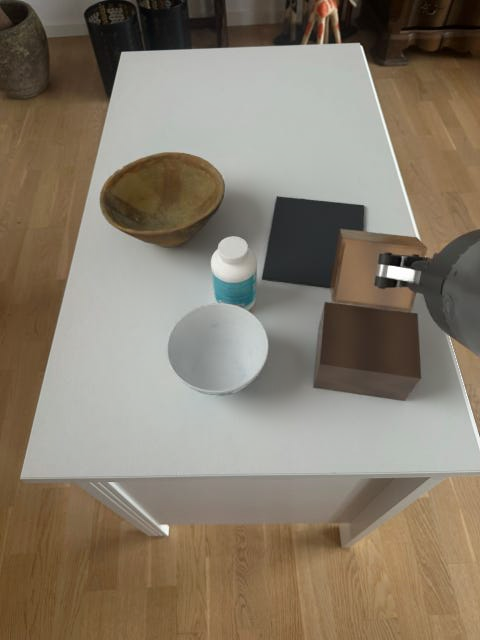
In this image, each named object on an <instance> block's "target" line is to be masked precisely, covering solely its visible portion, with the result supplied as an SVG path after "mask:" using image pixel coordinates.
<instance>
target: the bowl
mask: <svg viewBox="0 0 480 640" xmlns="http://www.w3.org/2000/svg"><path fill="white" fill-rule="evenodd" d="M225 192H226V184H225V180H224V178H223V174H221V172H220V171H219V170H218V169H217V168H216V167H215V165H213V164H211V163H210V162H209V161H208V160H206V159H204V158H202V157H200V156H198V155H194V154H190V153H186V152H178V151H175V152H174V151H172V152H171V151H165V152H163V151H162V152H159V153H154V154H151V155H147V156H145V157H140V158H137V159H136V160H134V161H132V162H130V163H128V164H125V165H123V166H122V168H119V169H117V170H115V172H113V173H112V175H110V176H109V177H108V178H107V179H106V180H105V181H104V183H103V185H102V187H101V190H100V194H99V209H100V211H101V214H102V216H103V217H104V219H105V220H106V221H107V223H108V224H110V225H111V226H112V227H113V228H115V229H117V230H118V231H120V232H122V233H124V234H126V235H127V236H130V237H132V238H135V239H137V240H139V241H141V242H143V243H148V244H151V245H154V246H158V247H162V248H174V247H178V246H179V247H180V246H181V245H183V244H184V243H186V242H187V241H188V240H189V239H190V238H191V239H192V238H193V236H195V235H196V234H197V233H199V232H200V231H201V230H202V229H203V228H204V227H205V226H206V225H207V223H208V222H209V221H211V219H212V218H213V217H214V216H215V215H216V213H217V212H218V211H219V208H220V206H221V204H222V202H223V200H224V197H225Z"/></svg>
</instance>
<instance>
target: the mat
mask: <svg viewBox="0 0 480 640" xmlns="http://www.w3.org/2000/svg"><path fill="white" fill-rule="evenodd" d="M364 220H365V205H364V204H356V203H347V202H338V201H337V202H336V201H328V200H319V199H308V198H299V197H298V198H297V197H289V196H278V195H277V196H276V200H275V204H274V210H273V215H272V221H271V225H270V231H269V237H268V242H267V248H266V253H265V259H264V264H263V270H262V275H261V280H263V281H269V282H277V283H285V284H286V283H287V284H293V285H294V284H295V285H302V286H310V287H317V288H325V289H326V288H327V289H330V285H331V279H332V273H333V267H334V261H335V255H336V249H337V244H338V238H339V232H340V229H345V230H355V231H364V227H365V225H364V223H365V221H364Z"/></svg>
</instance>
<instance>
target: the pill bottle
mask: <svg viewBox="0 0 480 640" xmlns="http://www.w3.org/2000/svg"><path fill="white" fill-rule="evenodd" d="M210 270H211V276H212V279H211V280H212V286H213V294H214V295H213V296H214V301H215V303H225V304H232V305H236V306H239V307H241V308H243V309H245V310H247V311H250V310H251V309H252V308H253V307H254V305H255V304H256V302H257V285H258V283H257V282H258V281H257V279H258V272H257V271H258V259H257V256H256V254H255V252H254V251H253V250H252V249H251V248H250V247H249V243H248V242H247V241H246V240H245V239H243V238H242V237H240V236H235V235H234V236H233V235H231V236H228V237H225V238H223V239H222V240H221V241H219V243H218V246H217V249H216V250H215V251H214V252H213V254H212V256H211V258H210Z"/></svg>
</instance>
